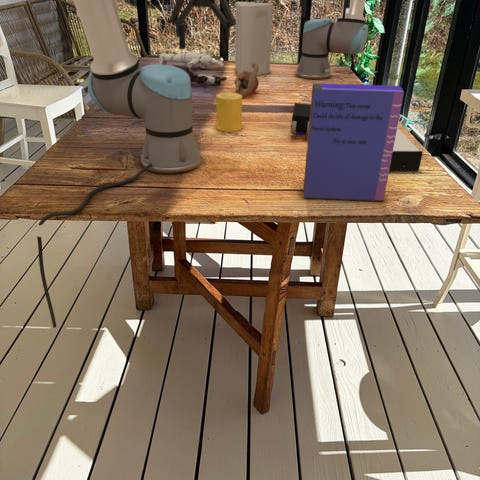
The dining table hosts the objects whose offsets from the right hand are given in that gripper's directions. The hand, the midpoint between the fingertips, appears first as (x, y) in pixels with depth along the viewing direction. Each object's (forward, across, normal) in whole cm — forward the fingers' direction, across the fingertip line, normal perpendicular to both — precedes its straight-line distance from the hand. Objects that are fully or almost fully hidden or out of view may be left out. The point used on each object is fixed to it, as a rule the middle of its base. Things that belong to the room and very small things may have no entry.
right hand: (323, 18), depth 162 cm
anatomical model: (+28, -27, +1) cm, 39 cm away
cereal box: (+27, +15, -80) cm, 85 cm away
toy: (+28, -62, +41) cm, 80 cm away
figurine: (+28, -53, +9) cm, 60 cm away
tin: (+27, -23, -40) cm, 53 cm away
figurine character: (+28, 0, -39) cm, 48 cm away
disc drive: (+27, +21, -52) cm, 62 cm away
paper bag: (+28, -33, +41) cm, 60 cm away
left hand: (+6, -33, -32) cm, 47 cm away
